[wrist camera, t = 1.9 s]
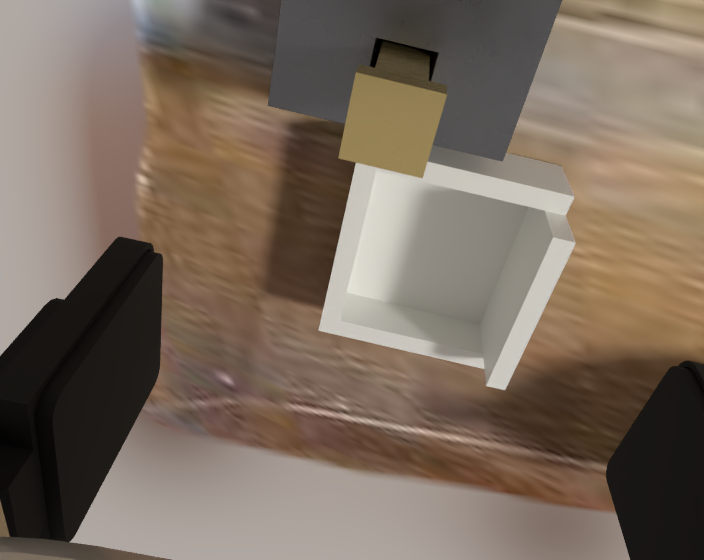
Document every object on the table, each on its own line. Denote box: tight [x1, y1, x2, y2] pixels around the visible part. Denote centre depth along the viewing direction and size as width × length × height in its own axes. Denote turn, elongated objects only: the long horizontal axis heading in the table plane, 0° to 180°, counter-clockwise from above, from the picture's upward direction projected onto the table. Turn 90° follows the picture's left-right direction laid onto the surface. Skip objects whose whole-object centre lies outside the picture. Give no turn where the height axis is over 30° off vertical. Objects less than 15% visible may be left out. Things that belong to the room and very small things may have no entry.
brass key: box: [338, 41, 447, 178], centre depth 24 cm, size 3×3×7 cm
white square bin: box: [319, 145, 576, 390], centre depth 32 cm, size 11×10×6 cm
